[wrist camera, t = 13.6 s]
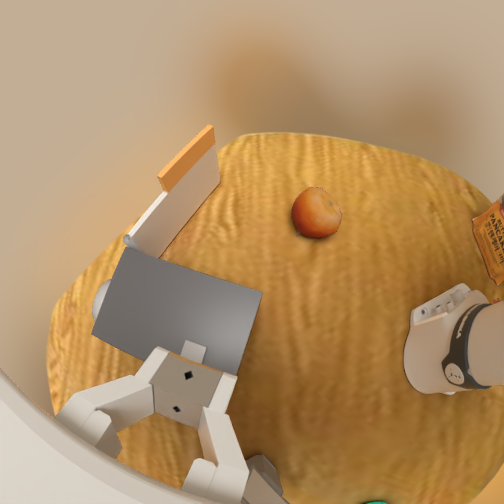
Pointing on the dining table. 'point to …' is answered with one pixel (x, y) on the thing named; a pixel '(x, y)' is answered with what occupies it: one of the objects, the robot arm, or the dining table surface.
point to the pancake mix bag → (492, 239)
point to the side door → (177, 195)
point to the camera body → (174, 312)
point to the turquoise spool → (377, 503)
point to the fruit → (316, 213)
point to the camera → (262, 483)
